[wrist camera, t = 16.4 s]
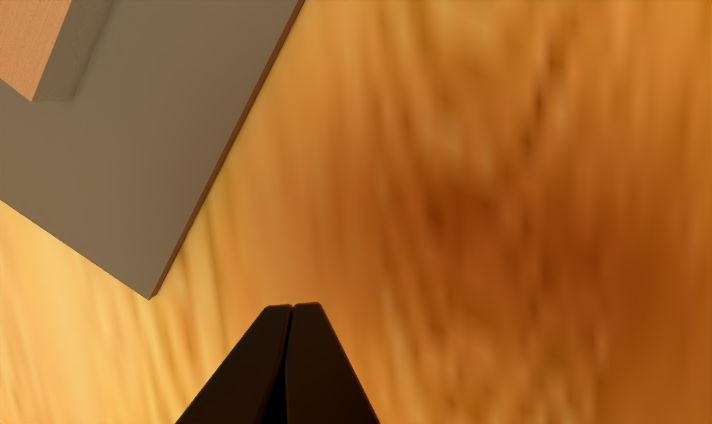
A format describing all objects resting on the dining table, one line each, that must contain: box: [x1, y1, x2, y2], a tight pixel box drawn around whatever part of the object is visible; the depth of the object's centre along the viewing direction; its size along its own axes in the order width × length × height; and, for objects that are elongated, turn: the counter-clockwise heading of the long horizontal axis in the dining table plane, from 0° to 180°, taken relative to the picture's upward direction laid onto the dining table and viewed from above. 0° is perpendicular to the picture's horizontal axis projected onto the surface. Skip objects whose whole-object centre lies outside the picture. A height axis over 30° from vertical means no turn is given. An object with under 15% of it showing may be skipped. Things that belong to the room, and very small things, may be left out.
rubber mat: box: [0, 0, 305, 300], centre depth 19 cm, size 18×18×1 cm
